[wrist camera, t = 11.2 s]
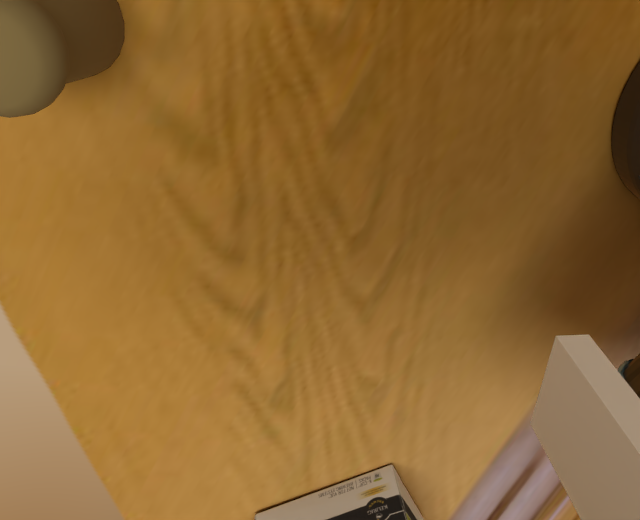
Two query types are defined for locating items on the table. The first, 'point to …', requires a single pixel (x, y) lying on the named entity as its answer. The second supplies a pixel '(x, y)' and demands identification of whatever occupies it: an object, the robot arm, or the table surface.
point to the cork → (53, 48)
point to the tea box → (352, 501)
